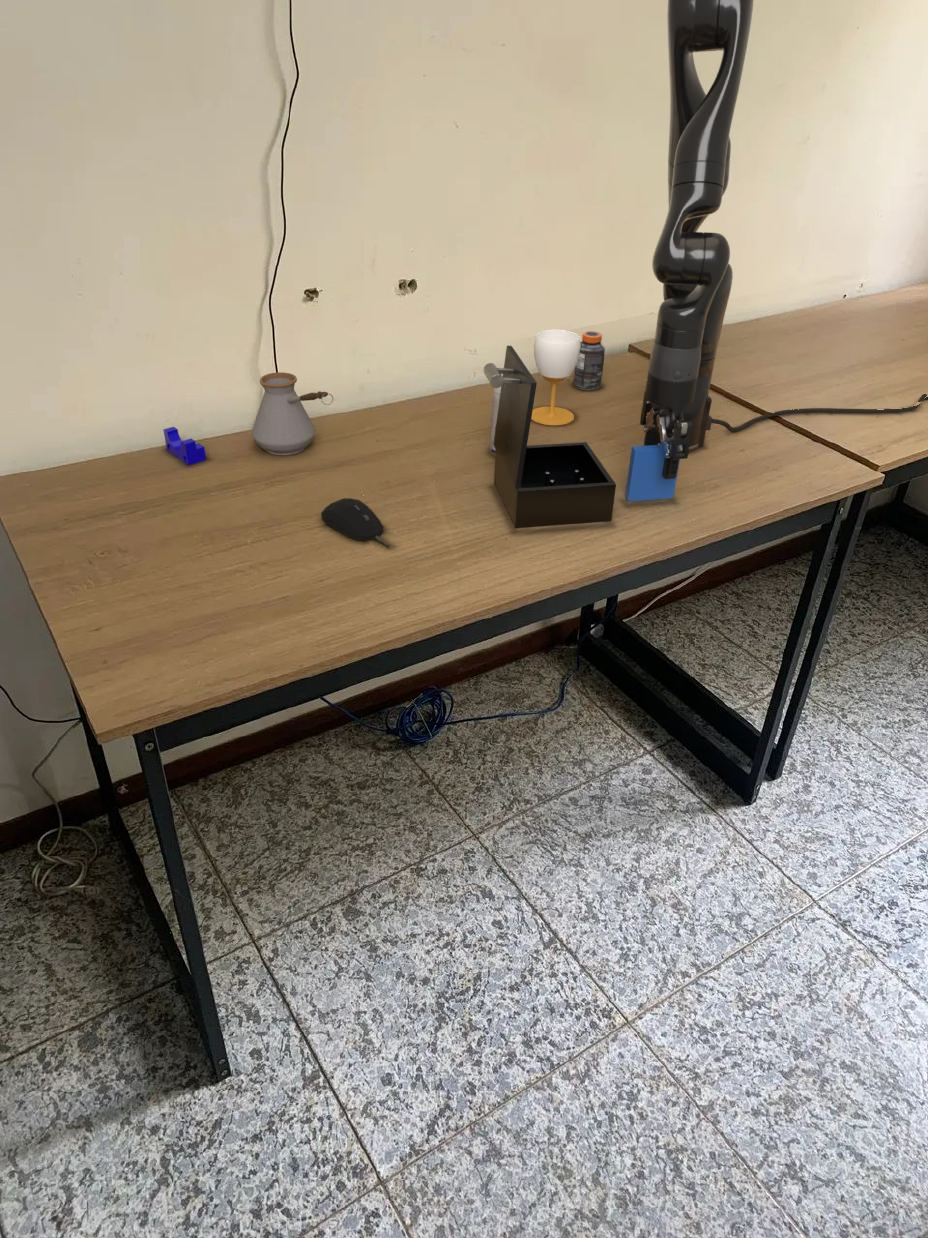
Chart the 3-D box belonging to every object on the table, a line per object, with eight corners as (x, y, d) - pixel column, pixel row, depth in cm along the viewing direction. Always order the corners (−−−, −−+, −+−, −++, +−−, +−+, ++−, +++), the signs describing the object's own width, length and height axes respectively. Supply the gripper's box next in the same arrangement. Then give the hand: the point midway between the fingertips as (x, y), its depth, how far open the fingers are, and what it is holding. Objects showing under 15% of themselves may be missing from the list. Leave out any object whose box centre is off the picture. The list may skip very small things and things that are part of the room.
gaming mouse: (372, 554, 137) (371, 531, 134) (314, 518, 145) (312, 495, 143) (404, 540, 140) (404, 517, 138) (345, 505, 149) (344, 483, 146)
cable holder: (206, 459, 161) (203, 438, 159) (188, 465, 159) (184, 444, 157) (184, 444, 166) (181, 424, 164) (166, 450, 164) (163, 429, 162)
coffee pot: (241, 444, 167) (231, 364, 158) (294, 428, 173) (287, 350, 164) (305, 485, 154) (298, 401, 145) (360, 467, 160) (356, 385, 152)
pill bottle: (603, 383, 196) (609, 330, 189) (597, 392, 191) (603, 339, 185) (576, 379, 198) (581, 327, 191) (570, 388, 193) (575, 335, 186)
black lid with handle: (511, 345, 141) (478, 343, 140) (537, 382, 129) (500, 381, 128) (497, 444, 151) (466, 444, 150) (520, 488, 138) (485, 488, 137)
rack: (577, 493, 152) (580, 469, 149) (584, 504, 149) (586, 479, 147) (540, 496, 151) (542, 471, 148) (546, 506, 148) (548, 481, 146)
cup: (522, 420, 179) (527, 339, 169) (537, 404, 185) (542, 326, 176) (566, 428, 176) (574, 347, 167) (579, 412, 183) (587, 332, 173)
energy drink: (516, 460, 164) (520, 397, 157) (487, 457, 165) (490, 394, 158) (521, 448, 168) (525, 385, 161) (492, 445, 169) (495, 382, 162)
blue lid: (669, 498, 153) (678, 443, 148) (672, 502, 152) (682, 447, 146) (624, 501, 152) (631, 446, 146) (627, 505, 151) (635, 450, 145)
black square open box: (582, 481, 158) (586, 441, 154) (610, 525, 145) (616, 484, 141) (493, 487, 155) (495, 447, 151) (514, 533, 143) (517, 491, 138)
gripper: (715, 386, 134) (697, 484, 144) (678, 352, 145) (663, 445, 155) (668, 389, 133) (653, 488, 142) (634, 355, 144) (622, 448, 154)
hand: (658, 465), depth 149 cm, fingers open, 8 cm apart
